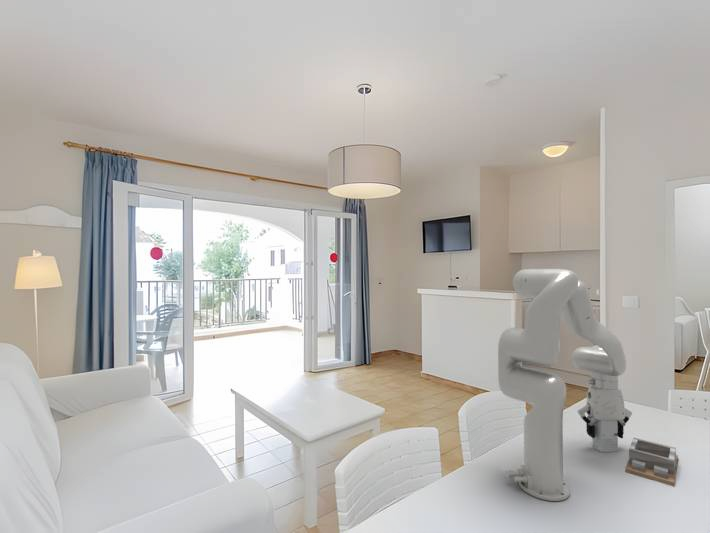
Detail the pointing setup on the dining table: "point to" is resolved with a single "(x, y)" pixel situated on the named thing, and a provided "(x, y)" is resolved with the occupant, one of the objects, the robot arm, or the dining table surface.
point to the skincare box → (605, 436)
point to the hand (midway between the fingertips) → (604, 436)
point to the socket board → (652, 461)
